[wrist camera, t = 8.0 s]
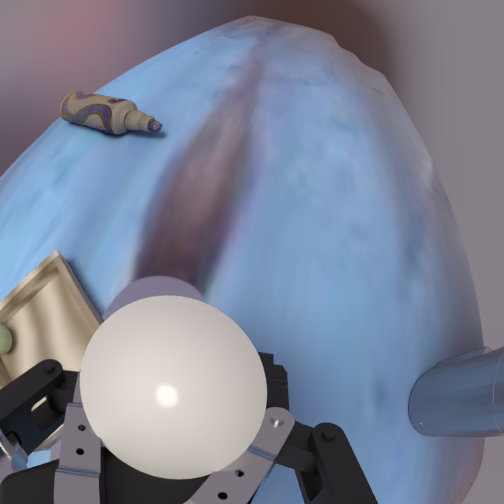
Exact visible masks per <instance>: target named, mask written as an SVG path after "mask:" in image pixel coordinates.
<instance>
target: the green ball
mask: <svg viewBox="0 0 504 504" xmlns="http://www.w3.org/2000/svg"><path fill="white" fill-rule="evenodd" d="M11 345H12V337H11V334H10V332H9V330H8V329H7V328H6V327H5V326H4V325H2V324H0V354H5V353H7V352H8V351H9V350H10V348H11Z"/></svg>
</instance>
